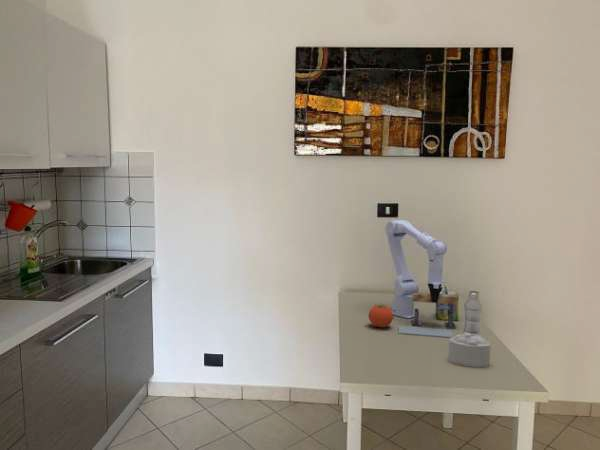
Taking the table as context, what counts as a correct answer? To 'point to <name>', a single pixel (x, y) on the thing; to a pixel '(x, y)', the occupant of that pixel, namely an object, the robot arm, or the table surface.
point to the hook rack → (447, 324)
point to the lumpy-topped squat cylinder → (469, 350)
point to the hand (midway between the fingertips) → (434, 301)
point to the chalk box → (446, 307)
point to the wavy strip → (441, 299)
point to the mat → (424, 332)
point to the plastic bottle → (472, 314)
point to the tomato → (380, 315)
